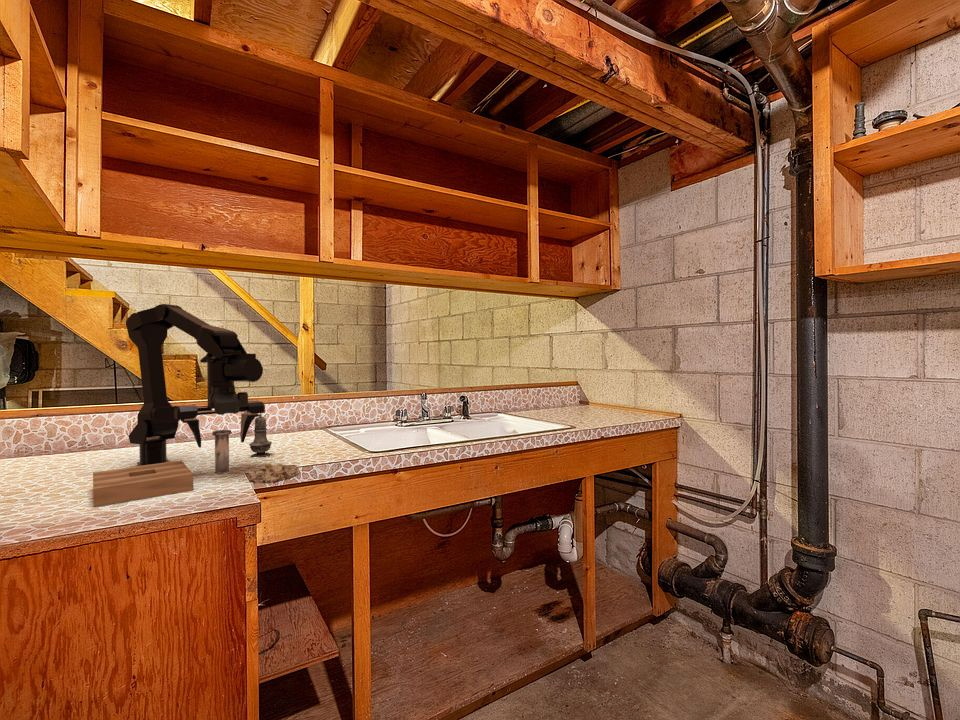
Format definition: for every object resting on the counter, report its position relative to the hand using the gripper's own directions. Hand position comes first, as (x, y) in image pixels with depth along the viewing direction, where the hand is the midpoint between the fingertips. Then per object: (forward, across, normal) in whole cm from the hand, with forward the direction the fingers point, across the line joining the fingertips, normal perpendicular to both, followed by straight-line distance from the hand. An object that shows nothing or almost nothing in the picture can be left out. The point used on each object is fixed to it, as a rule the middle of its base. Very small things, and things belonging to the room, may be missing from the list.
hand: (221, 444), depth 110 cm
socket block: (+7, -16, -5) cm, 18 cm away
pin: (+7, 0, 0) cm, 7 cm away
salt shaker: (+7, +12, +12) cm, 18 cm away
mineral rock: (+7, +8, -15) cm, 18 cm away
